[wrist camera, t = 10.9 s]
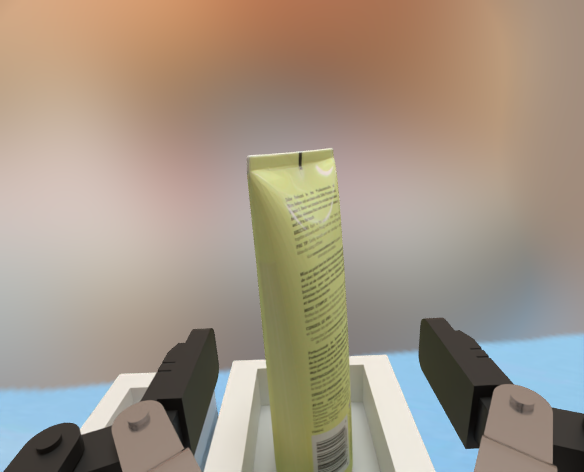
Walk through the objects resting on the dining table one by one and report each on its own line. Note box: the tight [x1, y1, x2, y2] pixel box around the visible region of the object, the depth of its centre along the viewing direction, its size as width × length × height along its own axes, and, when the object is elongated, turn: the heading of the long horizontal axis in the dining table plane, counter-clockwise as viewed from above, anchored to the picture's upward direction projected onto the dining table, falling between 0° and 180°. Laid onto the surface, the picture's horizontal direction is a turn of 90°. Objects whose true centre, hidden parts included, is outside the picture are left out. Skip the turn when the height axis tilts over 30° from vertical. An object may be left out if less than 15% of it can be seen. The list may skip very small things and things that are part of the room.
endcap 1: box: [80, 373, 218, 472], centre depth 22 cm, size 7×7×4 cm
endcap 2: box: [204, 355, 435, 472], centre depth 21 cm, size 12×11×4 cm
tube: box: [247, 148, 353, 472], centre depth 18 cm, size 6×5×20 cm
